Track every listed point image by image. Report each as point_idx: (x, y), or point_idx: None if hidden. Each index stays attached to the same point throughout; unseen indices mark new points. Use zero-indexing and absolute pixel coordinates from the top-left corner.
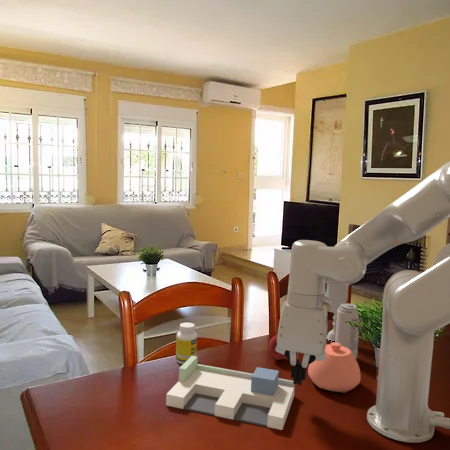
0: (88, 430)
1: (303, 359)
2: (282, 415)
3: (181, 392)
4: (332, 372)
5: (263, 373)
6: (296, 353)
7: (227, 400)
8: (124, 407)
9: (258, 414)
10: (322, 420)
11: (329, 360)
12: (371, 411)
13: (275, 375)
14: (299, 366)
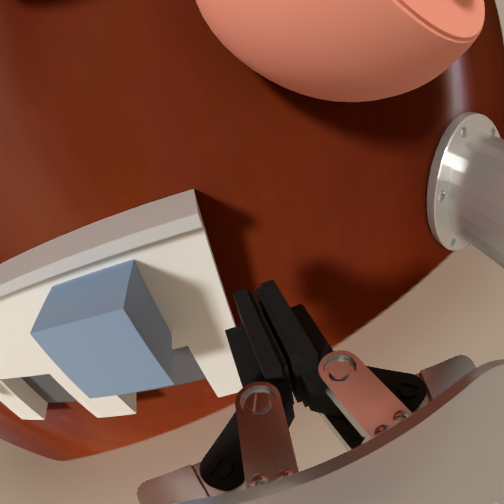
0: (49, 448)
1: (341, 436)
2: None
3: (24, 410)
4: (391, 89)
5: (96, 367)
6: (284, 442)
7: (99, 402)
8: (12, 417)
9: None
10: (329, 271)
11: (409, 50)
12: (443, 182)
13: (147, 354)
14: (299, 397)
